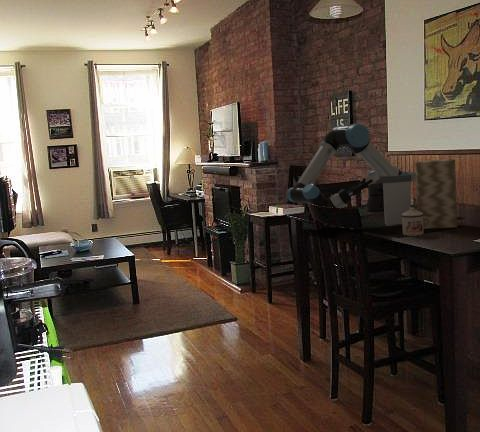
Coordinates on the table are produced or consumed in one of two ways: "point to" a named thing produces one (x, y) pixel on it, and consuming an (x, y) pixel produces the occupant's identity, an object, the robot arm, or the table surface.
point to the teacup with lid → (413, 222)
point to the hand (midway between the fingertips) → (378, 174)
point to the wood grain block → (437, 192)
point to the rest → (396, 201)
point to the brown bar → (396, 178)
